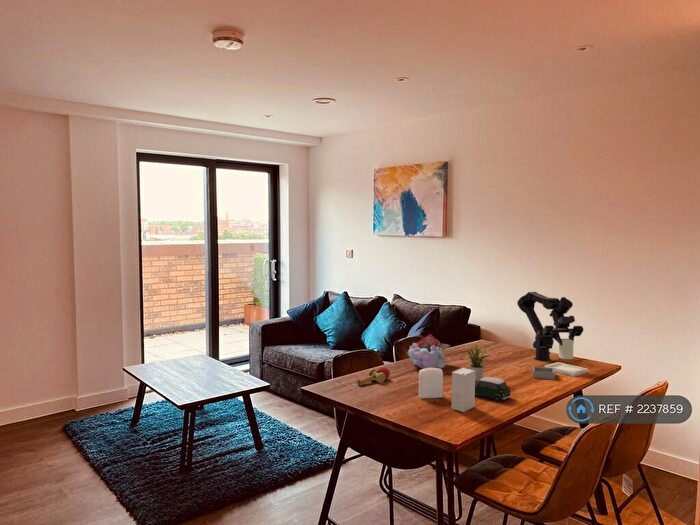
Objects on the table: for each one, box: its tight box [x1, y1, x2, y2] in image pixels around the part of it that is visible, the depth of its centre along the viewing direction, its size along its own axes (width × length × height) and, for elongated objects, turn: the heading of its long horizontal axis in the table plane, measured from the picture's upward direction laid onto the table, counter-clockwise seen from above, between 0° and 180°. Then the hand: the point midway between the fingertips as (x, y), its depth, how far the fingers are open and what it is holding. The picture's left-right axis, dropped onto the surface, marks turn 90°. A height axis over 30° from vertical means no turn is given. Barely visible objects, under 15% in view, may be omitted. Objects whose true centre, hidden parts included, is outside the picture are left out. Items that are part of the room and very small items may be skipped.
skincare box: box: [450, 367, 476, 413], centre depth 197 cm, size 8×6×15 cm
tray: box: [543, 362, 589, 378], centre depth 252 cm, size 16×12×2 cm
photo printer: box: [418, 368, 444, 399], centre depth 210 cm, size 10×4×12 cm, turn 96°
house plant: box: [465, 344, 492, 381], centre depth 236 cm, size 14×14×16 cm
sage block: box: [558, 338, 574, 360], centre depth 251 cm, size 5×5×9 cm
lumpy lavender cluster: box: [407, 333, 452, 370], centre depth 259 cm, size 20×22×18 cm
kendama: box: [356, 366, 391, 387], centre depth 232 cm, size 8×6×18 cm
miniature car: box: [475, 376, 512, 403], centre depth 212 cm, size 9×18×8 cm, turn 48°
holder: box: [532, 366, 556, 381], centre depth 243 cm, size 10×10×3 cm
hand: (567, 345), depth 249 cm, fingers closed on sage block, 5 cm apart
